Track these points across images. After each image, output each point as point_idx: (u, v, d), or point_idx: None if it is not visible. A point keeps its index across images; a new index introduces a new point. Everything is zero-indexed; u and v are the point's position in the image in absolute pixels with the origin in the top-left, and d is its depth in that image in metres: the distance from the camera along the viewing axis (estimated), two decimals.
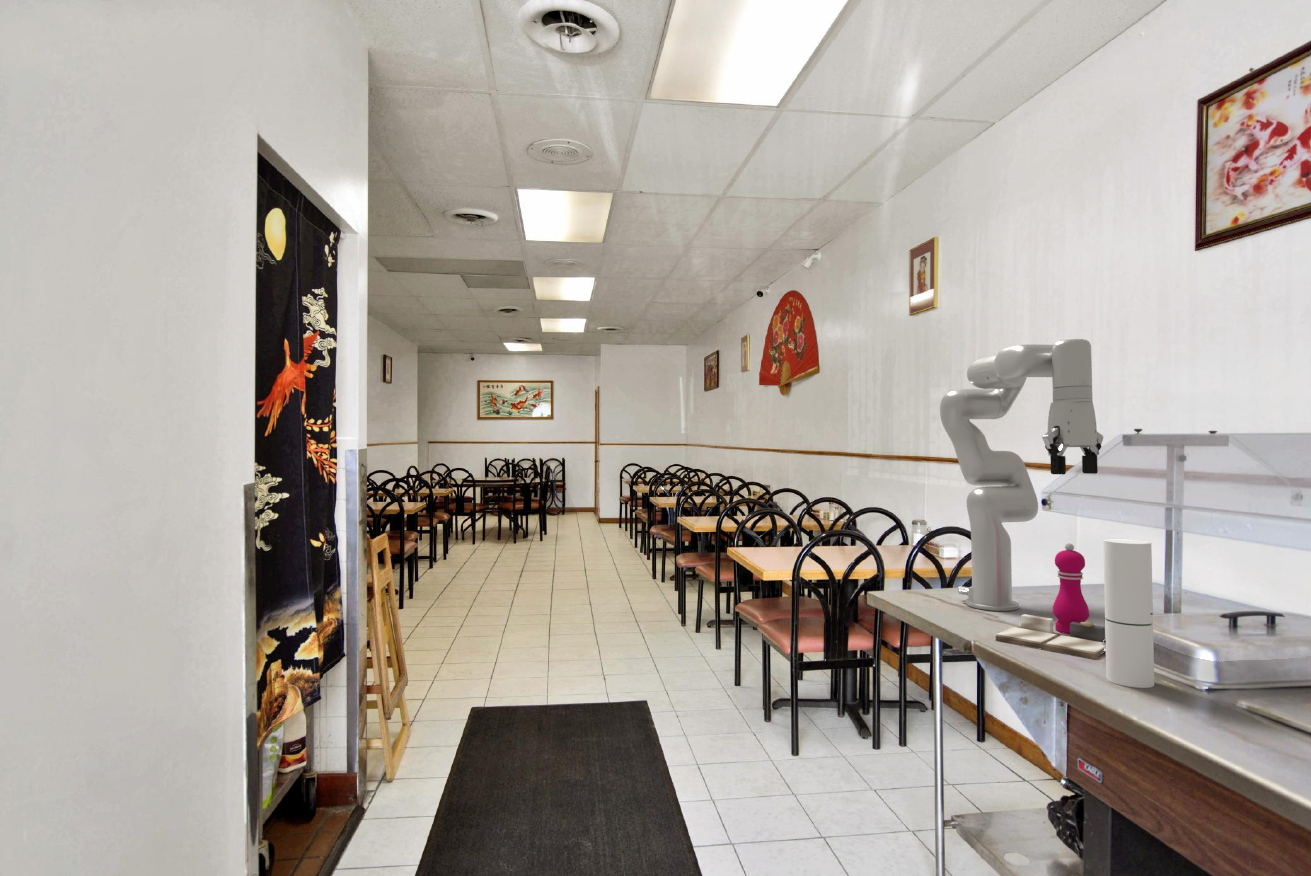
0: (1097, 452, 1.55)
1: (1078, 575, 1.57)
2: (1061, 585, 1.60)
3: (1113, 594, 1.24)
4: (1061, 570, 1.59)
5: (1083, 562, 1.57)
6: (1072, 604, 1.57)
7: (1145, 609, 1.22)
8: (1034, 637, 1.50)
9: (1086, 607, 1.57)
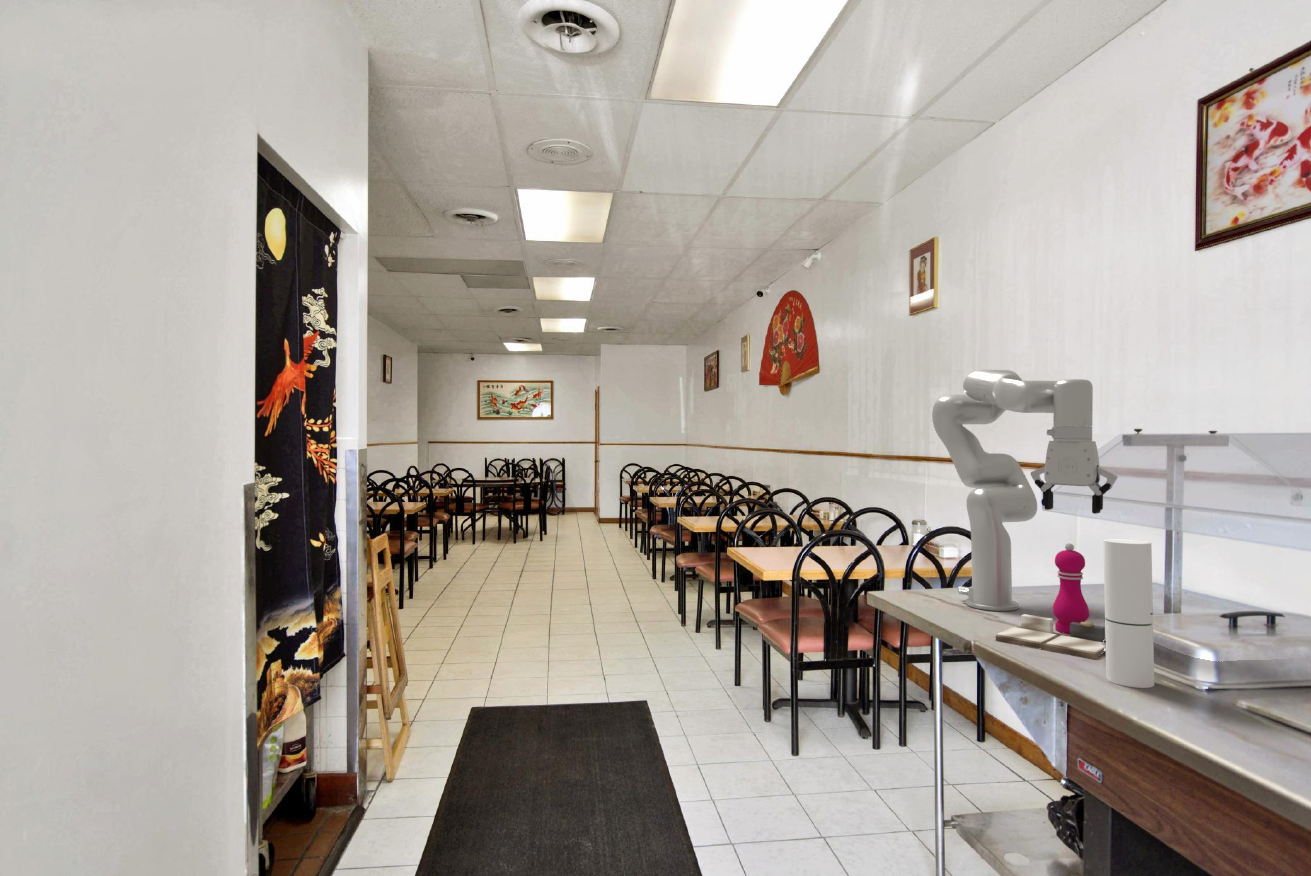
0: None
1: (1078, 575, 1.57)
2: (1061, 585, 1.60)
3: (1113, 594, 1.24)
4: (1061, 570, 1.59)
5: (1083, 562, 1.57)
6: (1072, 604, 1.57)
7: (1145, 609, 1.22)
8: (1034, 637, 1.50)
9: (1086, 607, 1.57)
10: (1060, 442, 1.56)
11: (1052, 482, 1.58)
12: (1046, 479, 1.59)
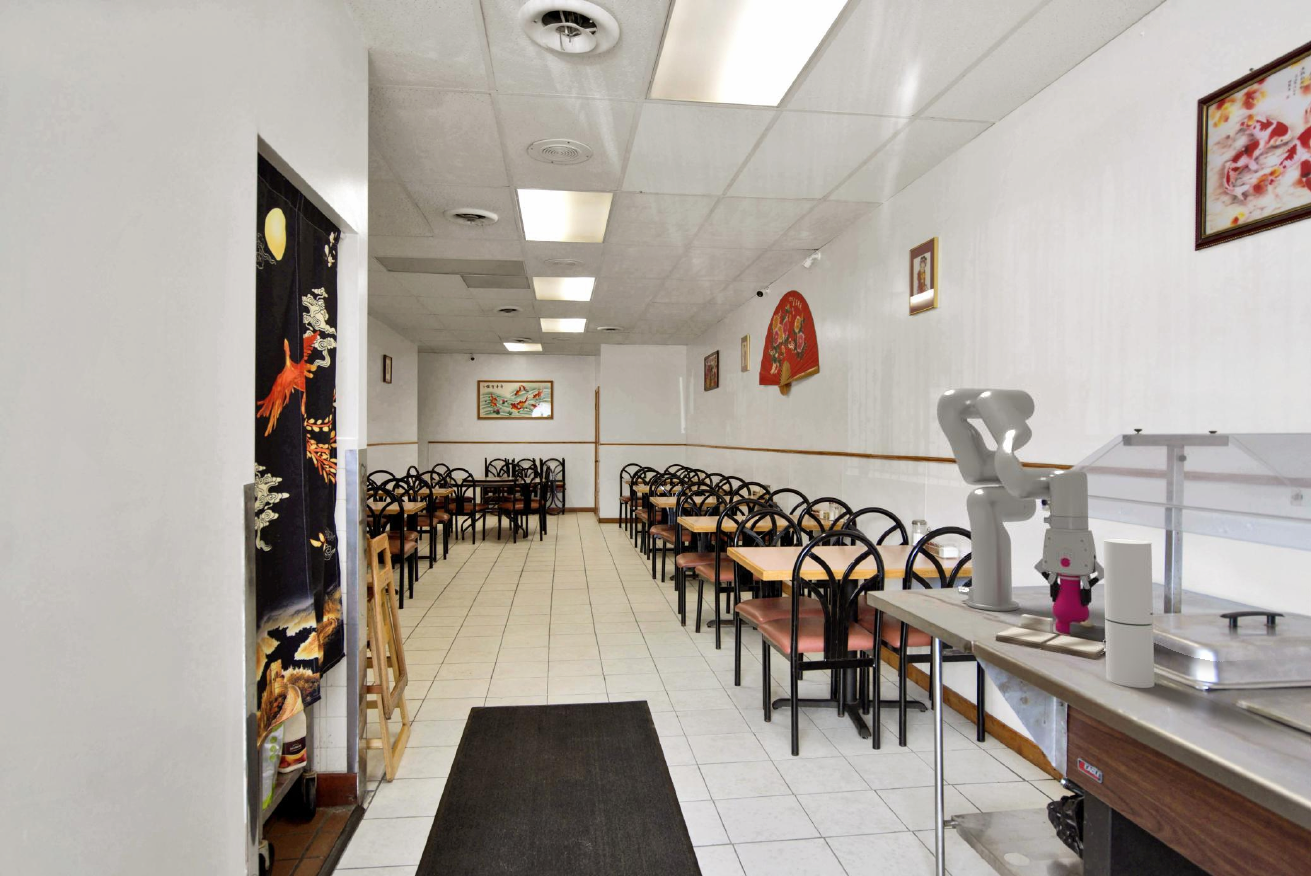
0: None
1: None
2: (1061, 585, 1.60)
3: (1113, 594, 1.24)
4: None
5: None
6: (1072, 604, 1.57)
7: (1145, 609, 1.22)
8: (1034, 637, 1.50)
9: (1086, 607, 1.57)
10: (1057, 531, 1.59)
11: (1050, 570, 1.60)
12: (1044, 567, 1.61)
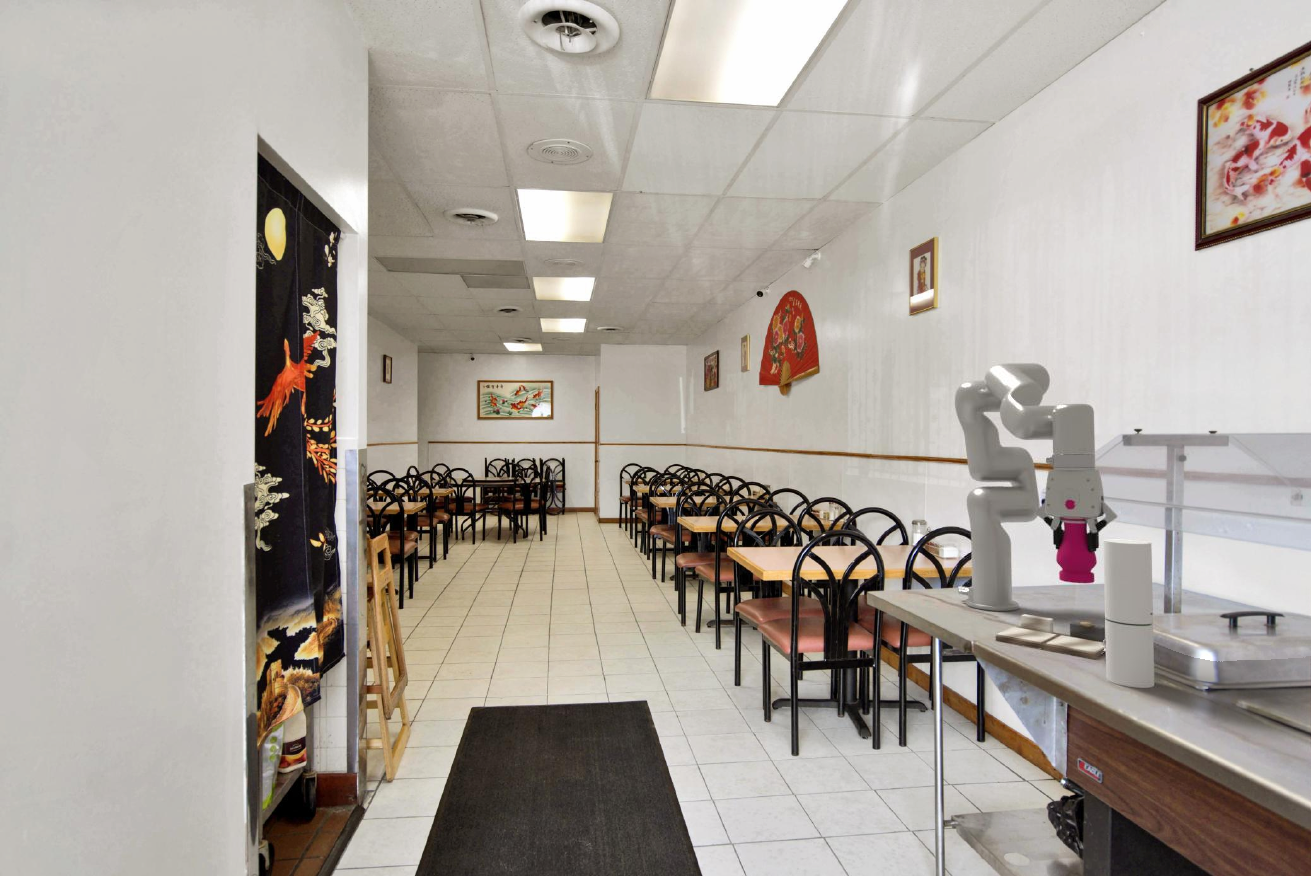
0: None
1: None
2: (1065, 530, 1.46)
3: (1113, 594, 1.24)
4: None
5: None
6: (1078, 550, 1.43)
7: (1145, 609, 1.22)
8: (1034, 637, 1.50)
9: (1093, 553, 1.43)
10: (1061, 471, 1.46)
11: (1054, 514, 1.46)
12: (1047, 511, 1.47)
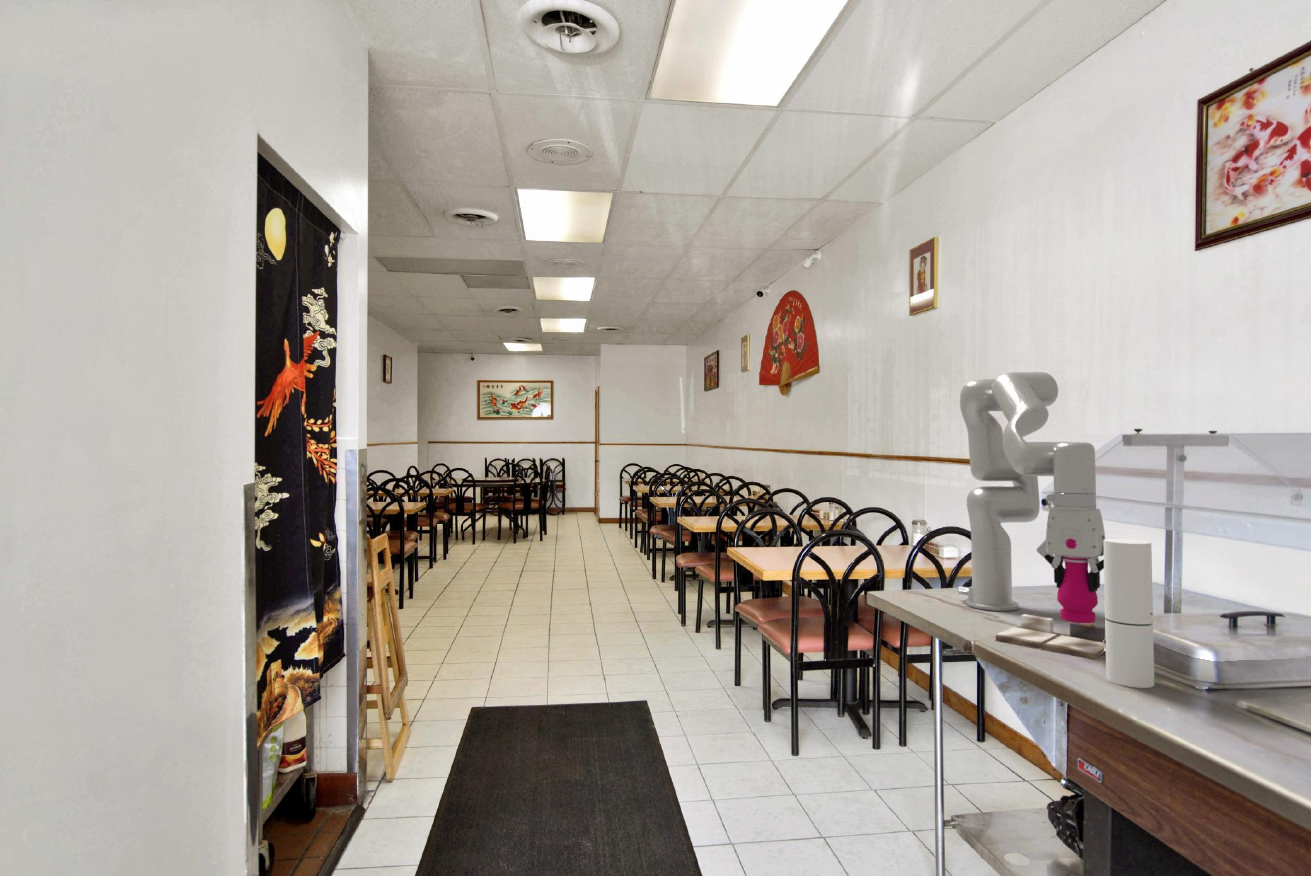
0: None
1: (1085, 558, 1.43)
2: (1066, 569, 1.45)
3: (1113, 594, 1.24)
4: None
5: None
6: (1079, 589, 1.42)
7: (1145, 609, 1.22)
8: (1034, 637, 1.50)
9: (1094, 593, 1.42)
10: (1062, 510, 1.45)
11: (1054, 553, 1.46)
12: (1048, 549, 1.47)
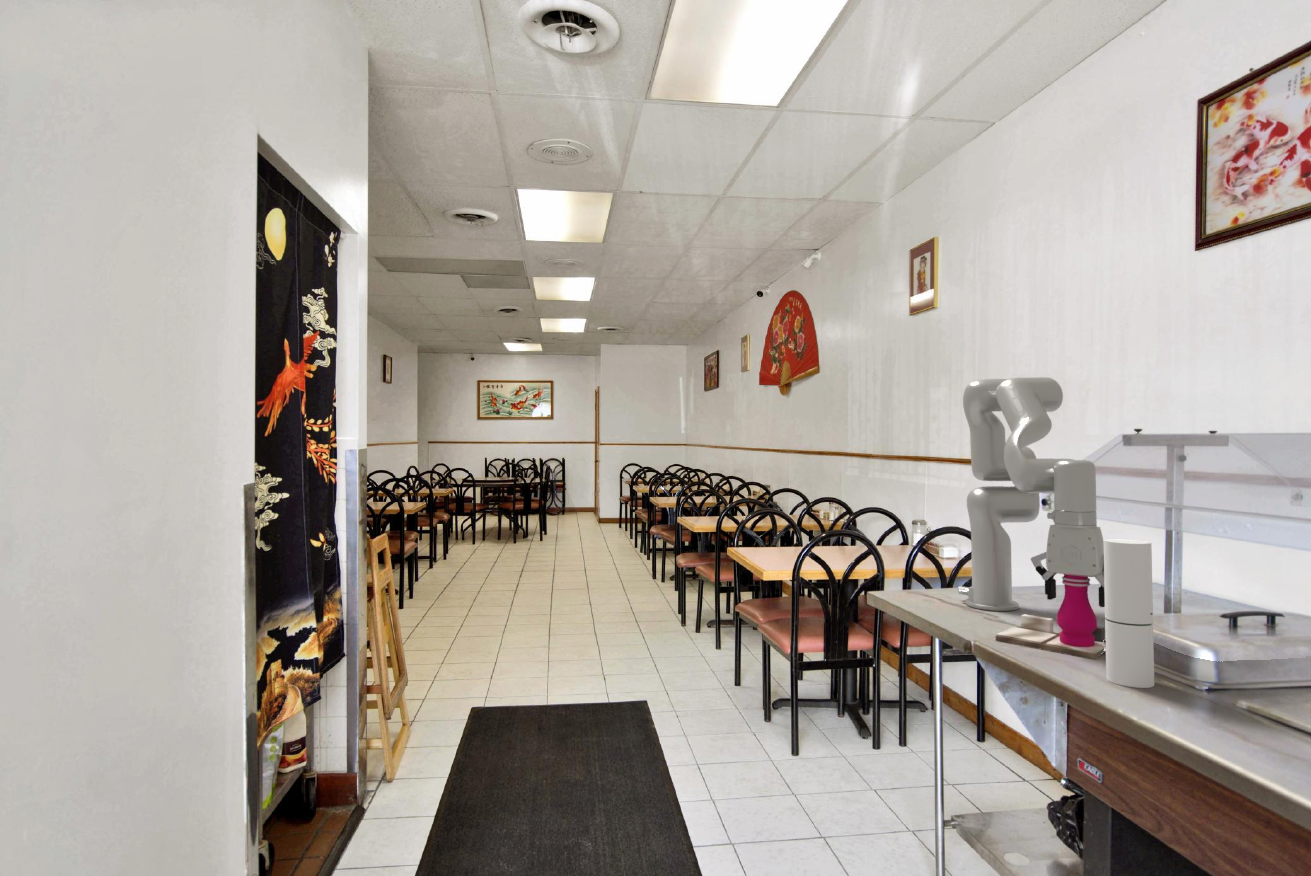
0: None
1: (1085, 581, 1.43)
2: (1066, 592, 1.46)
3: (1113, 594, 1.24)
4: (1066, 576, 1.45)
5: None
6: (1078, 613, 1.43)
7: (1145, 609, 1.22)
8: (1034, 637, 1.50)
9: (1094, 617, 1.43)
10: (1062, 528, 1.45)
11: (1055, 571, 1.46)
12: (1048, 567, 1.47)
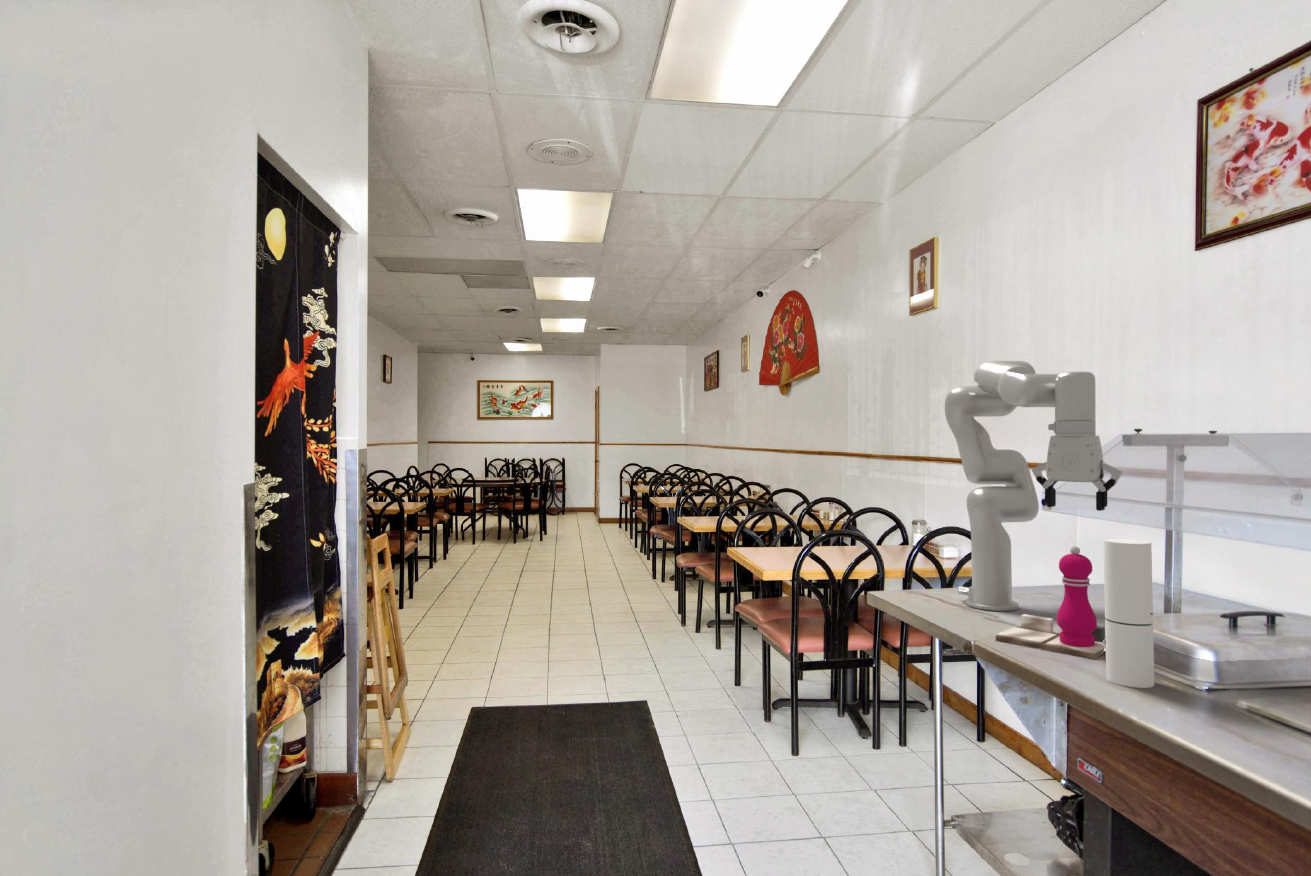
0: None
1: (1085, 581, 1.43)
2: (1066, 592, 1.46)
3: (1113, 594, 1.24)
4: (1066, 576, 1.45)
5: (1090, 567, 1.43)
6: (1078, 613, 1.43)
7: (1145, 609, 1.22)
8: (1034, 637, 1.50)
9: (1093, 616, 1.43)
10: (1062, 437, 1.51)
11: (1054, 478, 1.52)
12: (1048, 475, 1.53)
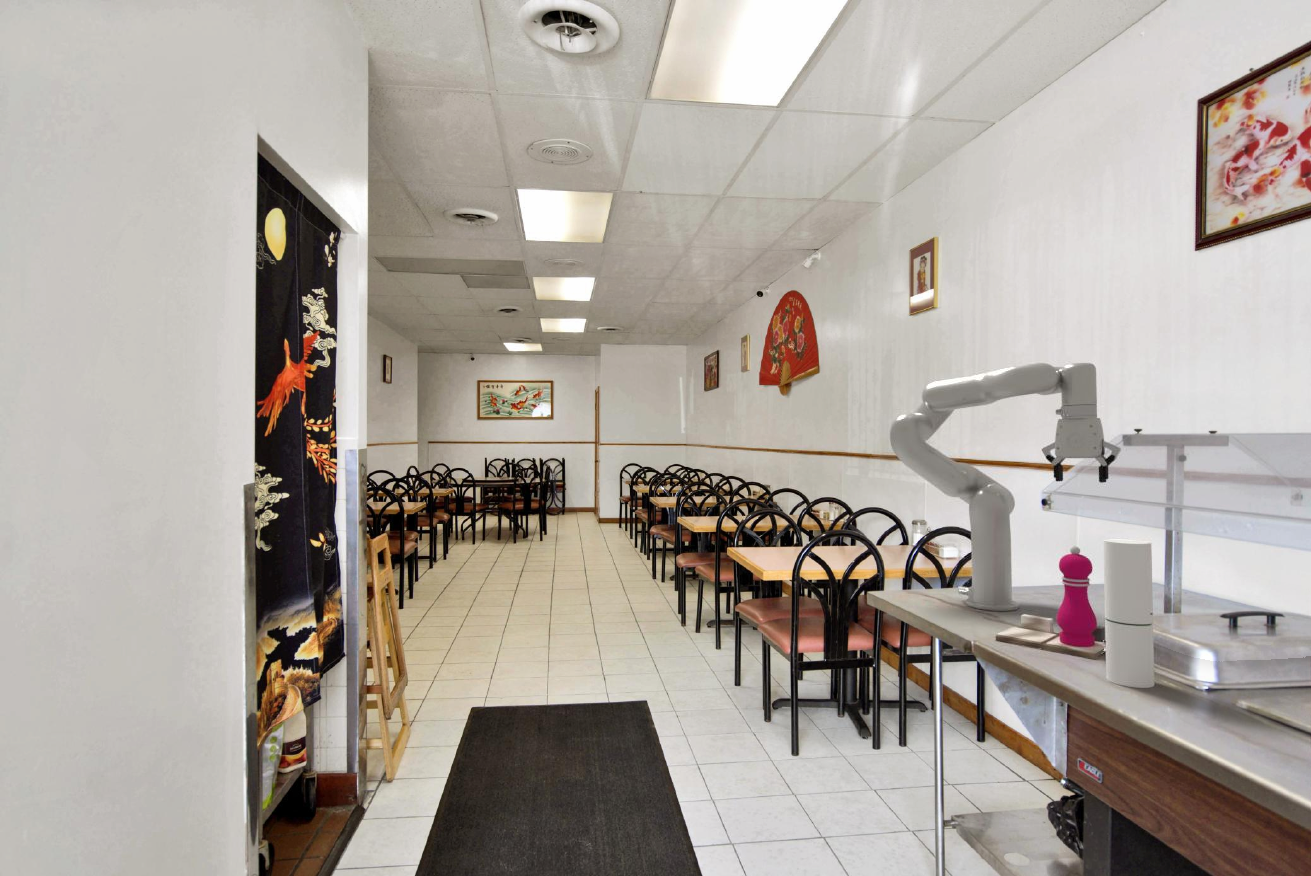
0: None
1: (1085, 581, 1.43)
2: (1066, 592, 1.46)
3: (1113, 594, 1.24)
4: (1066, 576, 1.45)
5: (1091, 567, 1.43)
6: (1078, 613, 1.43)
7: (1145, 609, 1.22)
8: (1034, 637, 1.50)
9: (1093, 616, 1.43)
10: (1068, 419, 1.74)
11: (1062, 456, 1.75)
12: (1056, 453, 1.76)
